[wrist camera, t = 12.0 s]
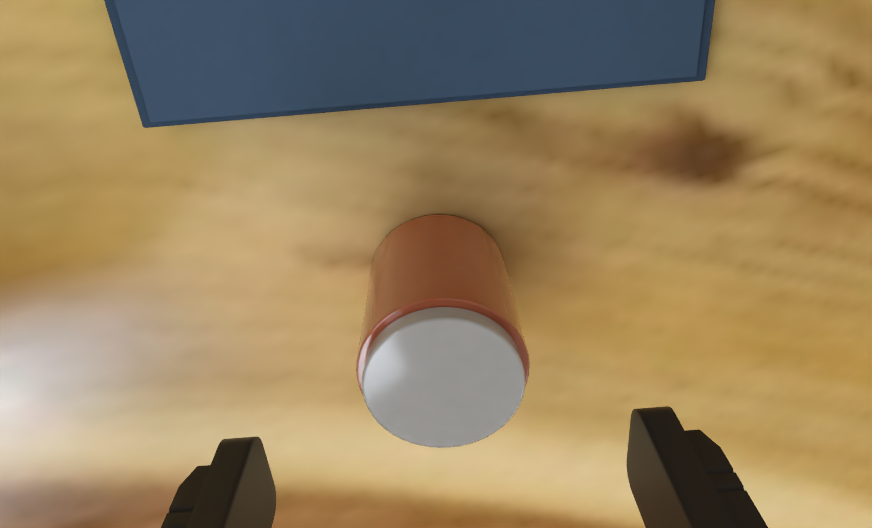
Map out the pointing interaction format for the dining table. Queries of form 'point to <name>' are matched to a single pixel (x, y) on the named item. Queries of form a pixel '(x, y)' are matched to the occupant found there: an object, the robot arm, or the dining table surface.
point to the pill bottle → (441, 335)
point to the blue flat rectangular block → (393, 52)
